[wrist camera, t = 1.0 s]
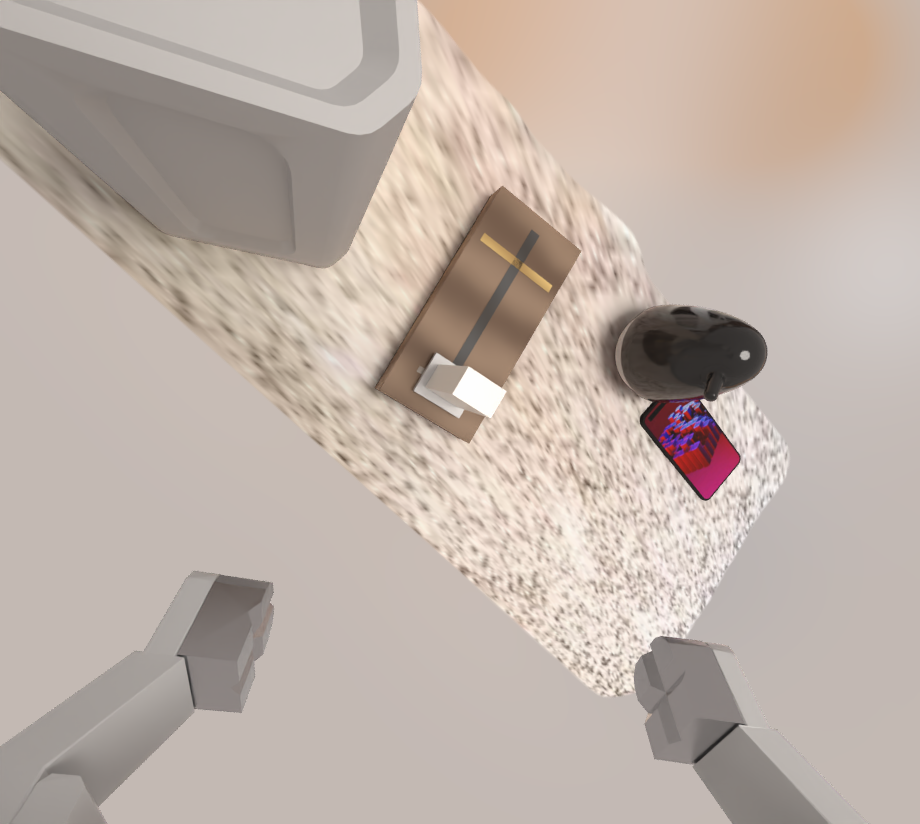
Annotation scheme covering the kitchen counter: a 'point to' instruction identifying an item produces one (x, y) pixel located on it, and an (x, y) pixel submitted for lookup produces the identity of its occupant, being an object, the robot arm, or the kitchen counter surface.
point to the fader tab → (458, 388)
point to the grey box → (224, 109)
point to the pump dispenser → (688, 353)
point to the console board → (483, 305)
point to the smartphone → (692, 444)
